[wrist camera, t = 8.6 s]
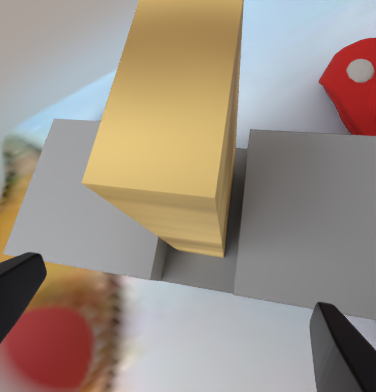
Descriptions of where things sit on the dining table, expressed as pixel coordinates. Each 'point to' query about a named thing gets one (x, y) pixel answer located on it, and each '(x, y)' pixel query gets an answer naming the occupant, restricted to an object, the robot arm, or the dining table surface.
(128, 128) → the ochre block
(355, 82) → the tracker holder
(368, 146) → the slotted board
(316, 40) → the dining table surface
